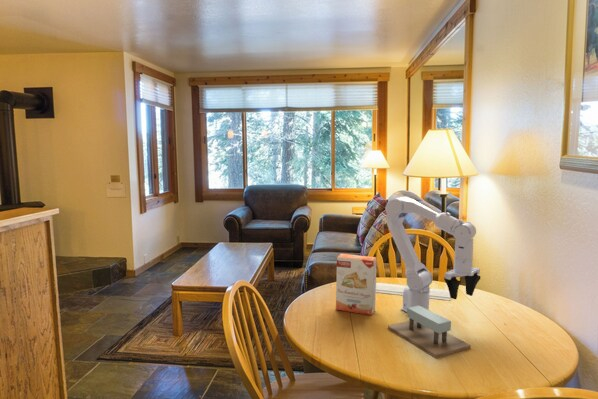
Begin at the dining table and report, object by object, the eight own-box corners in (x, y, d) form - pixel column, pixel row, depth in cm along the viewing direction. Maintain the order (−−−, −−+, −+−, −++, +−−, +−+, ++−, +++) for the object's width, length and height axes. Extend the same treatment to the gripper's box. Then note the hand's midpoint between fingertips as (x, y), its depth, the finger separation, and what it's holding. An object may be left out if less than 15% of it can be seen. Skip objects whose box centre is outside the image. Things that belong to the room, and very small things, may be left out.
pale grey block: (406, 316, 133) (407, 307, 133) (418, 313, 135) (418, 305, 135) (438, 333, 121) (438, 324, 120) (450, 330, 123) (451, 321, 123)
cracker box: (335, 310, 151) (336, 256, 149) (339, 305, 157) (340, 252, 154) (372, 316, 146) (373, 260, 143) (375, 310, 151) (376, 256, 149)
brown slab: (387, 328, 136) (388, 314, 135) (419, 321, 142) (420, 307, 141) (436, 358, 116) (436, 341, 115) (470, 348, 122) (471, 332, 121)
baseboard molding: (450, 303, 160) (449, 293, 171) (450, 296, 160) (449, 287, 171) (372, 294, 170) (376, 285, 181) (372, 288, 170) (376, 279, 181)
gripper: (457, 263, 130) (455, 303, 131) (488, 258, 136) (485, 297, 138) (440, 258, 136) (439, 296, 138) (471, 253, 142) (469, 290, 144)
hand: (461, 296), depth 138 cm, fingers open, 7 cm apart
